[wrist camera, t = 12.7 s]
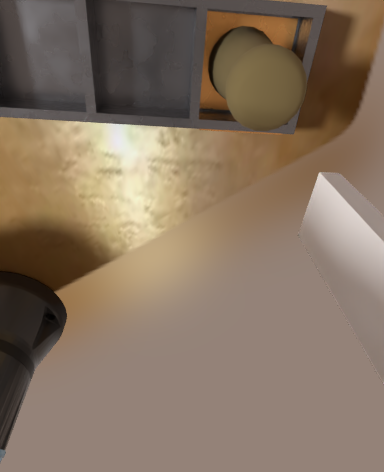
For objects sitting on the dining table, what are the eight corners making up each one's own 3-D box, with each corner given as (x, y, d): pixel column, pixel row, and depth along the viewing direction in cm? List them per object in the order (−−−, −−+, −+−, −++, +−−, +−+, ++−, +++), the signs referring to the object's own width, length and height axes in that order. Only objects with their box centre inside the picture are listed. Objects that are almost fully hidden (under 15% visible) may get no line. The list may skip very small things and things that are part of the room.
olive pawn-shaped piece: (283, 85, 30) (328, 121, 21) (221, 112, 31) (239, 158, 22) (265, 11, 27) (311, 18, 18) (197, 45, 28) (207, 67, 19)
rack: (308, 4, 27) (326, 5, 24) (281, 123, 33) (293, 136, 30) (-31, -27, 25) (-62, -30, 22) (2, 105, 31) (-18, 118, 28)
